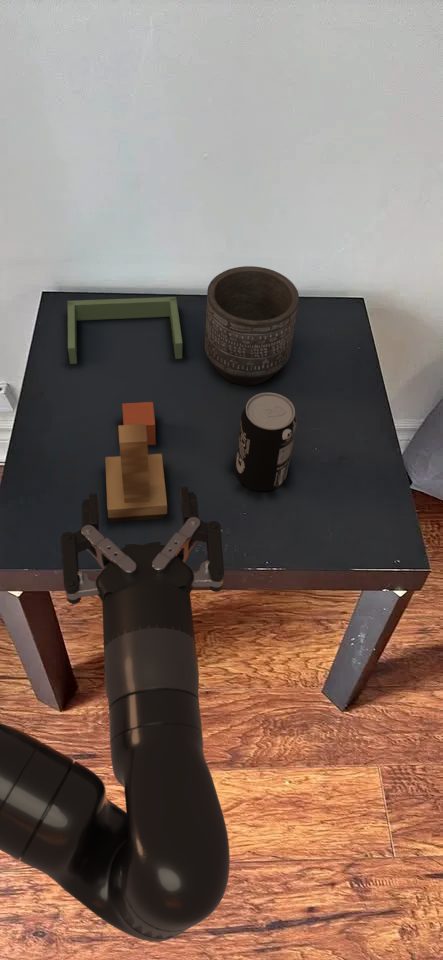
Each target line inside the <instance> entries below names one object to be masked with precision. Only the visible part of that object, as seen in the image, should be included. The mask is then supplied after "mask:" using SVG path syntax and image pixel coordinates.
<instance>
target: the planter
mask: <svg viewBox="0 0 443 960" xmlns="http://www.w3.org/2000/svg"><path fill="white" fill-rule="evenodd" d="M206 293H207V294H206V308H205V309H206V310H205V311H206V312H205V327H204V328H205V329H204V351H205V354H206V356H207V358H208V360H209V361H210V363H211V364H212V366H213V367H214V368H215V370H217V372H218V373H219V374H220V375H221V377H223V378H224V379H226V380H227V381H228V382H231V383H233V384H236V385H240V386H257V385H260V384H261V383H264V382H267V380H270V378H272V377H274V375H275V374H277V373H278V372H279V371H280V370H282V369H283V368H284V366H285V365H286V364H287V362H288V361H289V359H290V356H291V351H292V346H293V340H294V339H293V338H294V333H295V329H296V321H297V315H298V308H299V302H300V295H299V294H300V293H299V291H298V288H297V287H296V285H295V284H294V283H293V282H292V280H290V278H288V277H287V276H285V275H283V274H282V273H280V272H278V271H276V270H273V269H270V268H266V267H262V266H254V265H253V266H251V265H249V266H248V265H245V266H236V267H233V268H229V269H227V270H224V271H222V272H220V273H219V274H217V275H216V276H214V277H213V278H212V280H211V281H210V283H209V285H208V286H207V292H206Z"/></svg>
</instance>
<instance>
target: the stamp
mask: <svg viewBox="0 0 443 960" xmlns="http://www.w3.org/2000/svg"><path fill="white" fill-rule="evenodd" d="M117 427H118V442H119V456H118V455H117V456H105V457H104V460H105V461H104V462H105V482H106V484H105V485H106V508H107V518H108V519H109V520H110V523H118V522H119V523H121V522H134V521H147V520H161V519H166V515H167V514H168V500H167V490H166V482H165V481H166V480H165V472H164V470H165V469H164V462H163V461H164V460H163V453H151V454H149V445H148V441H147V429H146V424H135V425H123V424H121V425H118V426H117Z"/></svg>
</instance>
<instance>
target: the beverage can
mask: <svg viewBox="0 0 443 960" xmlns="http://www.w3.org/2000/svg"><path fill="white" fill-rule="evenodd" d="M297 425H298V418H297V415H296V410H295V406H294V403H292V401H291V400H290V399H288V398H287V397H286V396H285V395H282V394H279V393H276V392H260V393H258V394H255V395H254V396H252V397H251V398H249V399H248V401H247V403H246V405H245V407H244V408H243V409H242V412H241V415H240V425H239V431H238V432H239V433H238V434H239V435H238V442H237V451H236V460H235V461H236V462H235V474H236V477H237V479H238V480H239V481H240V482H241V483H242V484H243V485H244V486H245V487H247V488H248V489H251V490H254V491H257V492H266V491H267V492H268V491H272V490H275V489H277V488H279V487H280V486H281V485H283V484H284V482H285V480H286V478H287V475H288V470H289V466H290V460H291V456H292V450H293V445H294V441H295V435H296V430H297Z"/></svg>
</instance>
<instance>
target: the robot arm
mask: <svg viewBox="0 0 443 960" xmlns="http://www.w3.org/2000/svg"><path fill="white" fill-rule="evenodd" d="M197 499H198V498H197V495H196V494H195V492H194V491H189V487H188V486H183V487H180V507H181V508H180V509H181V517H182V527H181V528H180V529H179V530H178V531H176V532H174V534H173V535H172V537H171V538H170V539H169V540H168V542H167V543H166V545H164V544H161V541H155V542H153V541H152V542H148V543H145V544H138V543H137V544H136V543H128V544H124V547H122V548H119V547H118V546H117V545H116V544H115V543H114V542H113V541H112V540H111V539H110V538H109V537H107V536H106V537H105V536H104V535H103V534H102V533H101V532H100V513H99V512H100V511H99V499H98V493H97V492H95V493H93V492H92V493H88V498H87V499H83V500H82V503H81V522H82V523H81V527H80V529H79V530H77V531H75V532H70V531H66V532H64V533H62V535H61V536H60V545H61V559H62V561H61V562H62V574H63V575H62V576H63V586H64V590H65V591H64V592H65V596H66V600H67V602H68V603H69V604H71V605H77V604H78V603H80V602H81V600H82V598H87V597H94V596H98V598H99V599H100V601H101V602H102V604H101V605H102V606H101V607H102V634H103V635H102V636H103V672H104V687H105V693H106V697H107V703H108V718H109V721H108V722H109V725H108V726H109V747H110V761H111V767H112V772H113V776H114V778H115V779H116V782H117V783H119V785H121V787H123V789H124V790H123V791H124V800H125V802H124V803H125V810H124V809H122V808H121V807H119V806H118V805H117V804H115V803H114V802H112V801H111V800H110V799H109V798H108V797H107V789H106V785H105V783H104V781H103V780H102V779H101V777H100V776H99V775H97V773H95V772H94V771H92V770H91V769H90V768H88V767H86V766H85V765H83V764H81V762H78V761H74V759H73V758H71V757H69V756H68V755H65V754H64V753H62V752H60V751H59V750H57V749H55V748H53V747H52V746H50V745H48V744H46V743H44V742H42V741H41V740H39V739H37V738H35V737H34V736H31V735H30V734H28V733H26V732H24V731H22V730H20V729H17V728H15V727H12V726H10V725H8V724H4V723H1V722H0V851H1V852H2V853H5V854H6V855H8V856H10V857H12V858H13V859H16V860H17V861H20V862H21V863H23V864H25V865H27V866H28V867H31V868H33V869H35V870H38V871H40V872H42V873H44V875H47V876H48V877H49V878H51V879H52V880H53V881H54V882H55V883H56V884H58V885H59V887H61V888H62V889H63V890H64V891H65V892H66V893H68V894H69V895H70V896H72V897H73V898H74V899H75V900H77V901H78V902H79V903H80V904H82V905H83V906H84V907H85V908H87V909H88V910H89V911H91V913H93V914H94V915H96V916H97V917H98V918H99V919H102V921H104V922H106V923H107V924H109V925H110V926H112V927H113V928H115V929H117V930H119V931H121V932H123V933H125V934H126V935H129V936H131V937H133V938H135V939H138V940H141V941H144V942H145V941H147V942H164V941H168V940H171V939H173V938H176V937H177V936H180V935H181V934H182V933H184V932H186V931H188V930H189V929H190V928H193V927H195V926H196V925H198V924H199V923H201V922H203V921H204V920H206V919H207V918H208V917H210V916H211V915H212V914H213V913H214V912H215V910H216V909H217V908H218V906H219V905H220V903H221V901H222V900H223V898H224V896H225V893H226V891H227V886H228V883H229V879H230V869H231V868H230V867H231V866H230V865H231V864H230V863H231V859H230V858H231V856H230V854H231V853H230V841H229V834H228V829H227V824H226V820H225V817H224V813H223V809H222V806H221V803H220V799H219V796H218V792H217V789H216V786H215V783H214V779H213V776H212V773H211V770H210V768H209V765H208V763H207V760H206V758H205V753H204V737H203V727H202V718H201V710H200V698H199V697H200V695H199V688H200V687H199V686H200V673H199V671H200V669H199V658H198V654H197V652H198V651H197V644H196V634H195V626H194V617H193V608H192V600H191V593H192V591H193V588H202V587H203V588H205V587H209V589H210V590H211V591H212V592H214V593H219V592H221V591H222V589H223V588H224V578H225V566H224V552H223V540H222V539H223V538H222V527H221V524H220V522H218V521H216V520H215V521H213V520H212V521H210V522H205V521H203V520H202V519H201V518H200V514H199V506H198V500H197ZM198 542H202V543H206V554H207V559H206V560H205V561H202V562H201V564H200V566H199V569H198V570H197V571H196V572H194V571H193V569H192V568H191V567H190V566H189V565H188V564H186V561H187V559H188V557H189V556H190V555H189V554H190V553H191V551H192V550H193V548H194V547H195V545H196V544H197V543H198ZM83 551H87V552H88V553H89V554H90V555H91V556H92V557H93V559H95V560H96V561H97V564H98V566H100V568H102V570H101V572H100V573H99V574H98V576H97V577H96V579H95V580H92V579H90V578H89V576H88V575H89V574H87V572H85V571H83V570H80V567H79V565H80V564H79V553H80V552H83Z"/></svg>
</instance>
